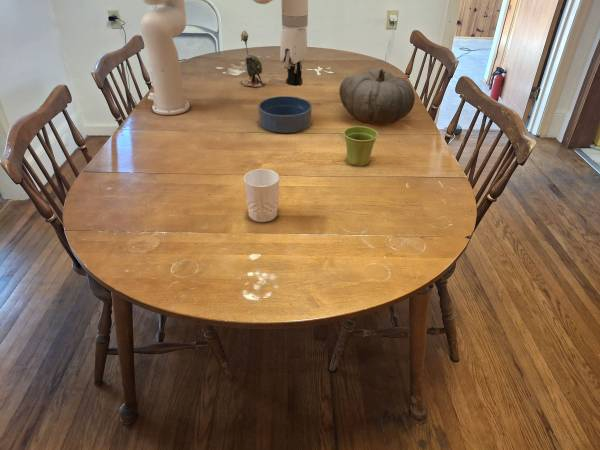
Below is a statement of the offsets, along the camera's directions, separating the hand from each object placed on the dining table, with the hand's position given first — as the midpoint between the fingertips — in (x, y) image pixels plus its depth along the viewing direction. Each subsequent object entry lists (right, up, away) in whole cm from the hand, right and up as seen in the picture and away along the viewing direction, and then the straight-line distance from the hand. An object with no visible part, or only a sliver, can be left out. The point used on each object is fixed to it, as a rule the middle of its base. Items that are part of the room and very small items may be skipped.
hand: (294, 83), depth 144 cm
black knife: (-3, +1, +1) cm, 3 cm away
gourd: (+27, -8, +13) cm, 31 cm away
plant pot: (+18, -26, -13) cm, 35 cm away
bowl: (-3, -11, +8) cm, 14 cm away
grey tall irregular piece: (-16, +11, +37) cm, 42 cm away
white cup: (-7, -42, -35) cm, 55 cm away
